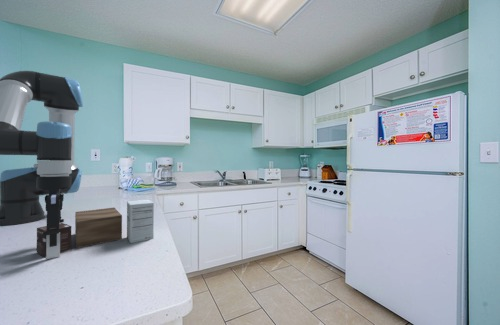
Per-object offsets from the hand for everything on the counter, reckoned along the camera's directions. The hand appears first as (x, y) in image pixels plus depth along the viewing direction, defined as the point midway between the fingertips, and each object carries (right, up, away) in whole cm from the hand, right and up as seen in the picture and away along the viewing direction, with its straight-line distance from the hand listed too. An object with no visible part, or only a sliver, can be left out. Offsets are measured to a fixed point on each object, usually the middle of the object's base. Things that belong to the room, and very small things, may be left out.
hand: (54, 250), depth 62 cm
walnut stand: (+4, 0, +12) cm, 13 cm away
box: (0, 0, 0) cm, 0 cm away
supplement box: (+19, -1, +11) cm, 22 cm away
